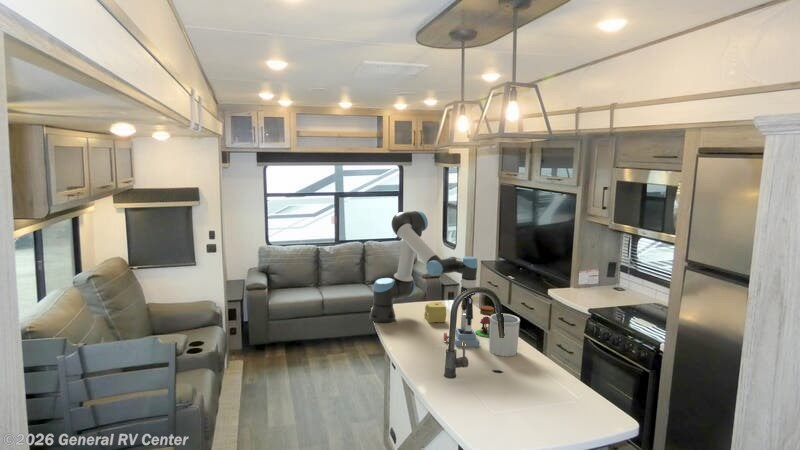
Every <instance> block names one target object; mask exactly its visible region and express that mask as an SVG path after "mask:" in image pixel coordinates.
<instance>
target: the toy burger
mask: <svg viewBox="0 0 800 450" xmlns="http://www.w3.org/2000/svg"><path fill="white" fill-rule="evenodd" d="M494 311H495V308H494V307H493V306H491V305H481V306H480V310H479V312H480V315H483V318H481V319H480V322H479V323H480V324H481V325H482V326H481V327H480V329H477V330H476V331H475V334H476V336H477V335H478V336H479V337H484V338H490V316H491V315H493V314H495V312H494Z"/></svg>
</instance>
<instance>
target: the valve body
mask: <svg viewBox="0 0 800 450" xmlns="http://www.w3.org/2000/svg"><path fill="white" fill-rule="evenodd" d="M455 331H456V339H455V344H454V345H455V347H459V346H462V342H463V341H464V342H465V344H466V346H471V347H470V348H479V347H480V340H479V338H478V336H477V334H476V332H475V330H474V329H473V328H471V331H470V334H460V333H461V327H460V328H458V327H457V328H455ZM449 336H450V335H448V334H447V332H443V342H444V341H446V342H445V343H447V341H448V340H449V339H448V338H449Z"/></svg>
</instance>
